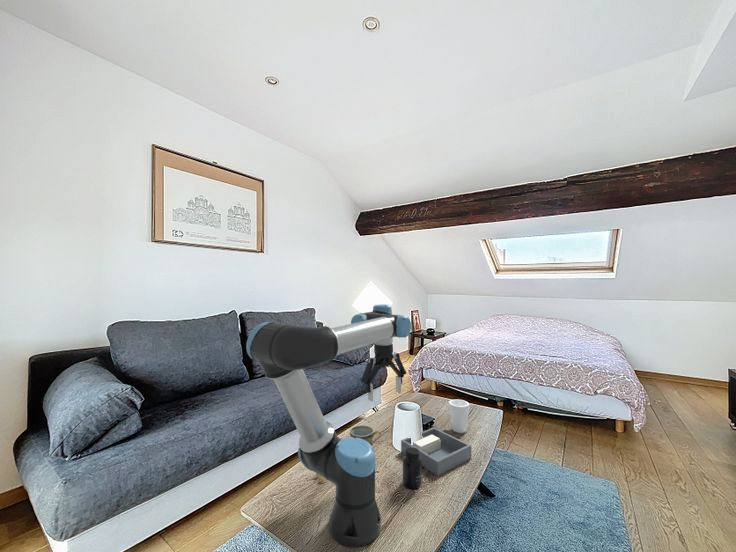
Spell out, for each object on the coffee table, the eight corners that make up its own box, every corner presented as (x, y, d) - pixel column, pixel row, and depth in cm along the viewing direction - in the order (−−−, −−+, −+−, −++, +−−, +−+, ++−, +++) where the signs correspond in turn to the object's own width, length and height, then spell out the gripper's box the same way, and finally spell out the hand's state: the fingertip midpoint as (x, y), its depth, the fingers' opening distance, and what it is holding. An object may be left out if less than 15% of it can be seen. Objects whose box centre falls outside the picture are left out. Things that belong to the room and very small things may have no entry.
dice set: (322, 485, 113) (322, 479, 113) (312, 479, 116) (312, 474, 116) (332, 478, 117) (332, 473, 117) (322, 473, 120) (322, 468, 120)
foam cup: (447, 425, 159) (447, 399, 159) (466, 425, 158) (465, 399, 159) (451, 434, 149) (451, 406, 150) (471, 434, 149) (471, 406, 149)
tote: (437, 478, 115) (437, 462, 115) (401, 454, 131) (401, 440, 132) (471, 460, 127) (471, 445, 127) (434, 440, 143) (433, 427, 143)
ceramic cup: (349, 461, 126) (349, 436, 127) (350, 448, 136) (350, 425, 137) (381, 460, 127) (381, 435, 127) (379, 448, 137) (379, 424, 137)
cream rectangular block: (420, 457, 128) (420, 447, 128) (412, 451, 132) (412, 442, 132) (440, 448, 135) (440, 438, 135) (432, 443, 139) (432, 434, 139)
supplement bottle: (421, 492, 108) (421, 456, 108) (401, 489, 109) (401, 454, 109) (422, 480, 115) (422, 446, 115) (403, 477, 116) (403, 444, 116)
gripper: (402, 337, 136) (404, 386, 136) (351, 346, 123) (353, 400, 123) (413, 340, 129) (415, 392, 129) (361, 349, 116) (362, 406, 117)
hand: (385, 396), depth 126 cm, fingers open, 13 cm apart
